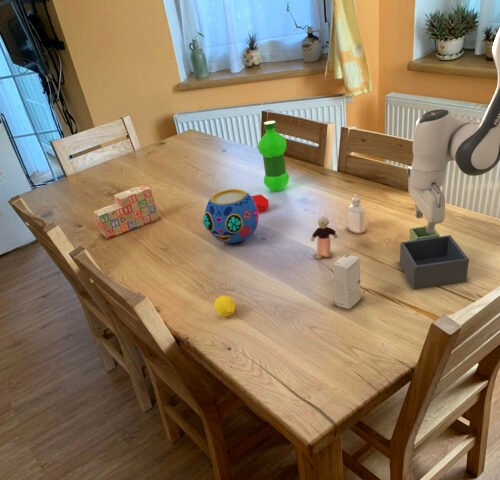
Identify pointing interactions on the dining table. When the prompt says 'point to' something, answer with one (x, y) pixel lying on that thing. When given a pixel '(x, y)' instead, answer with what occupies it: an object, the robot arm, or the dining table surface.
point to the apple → (261, 203)
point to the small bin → (421, 233)
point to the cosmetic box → (347, 281)
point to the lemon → (224, 305)
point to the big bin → (433, 262)
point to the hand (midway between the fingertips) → (423, 224)
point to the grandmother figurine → (323, 237)
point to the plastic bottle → (273, 158)
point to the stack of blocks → (127, 211)
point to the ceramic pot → (231, 216)
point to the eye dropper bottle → (356, 216)
